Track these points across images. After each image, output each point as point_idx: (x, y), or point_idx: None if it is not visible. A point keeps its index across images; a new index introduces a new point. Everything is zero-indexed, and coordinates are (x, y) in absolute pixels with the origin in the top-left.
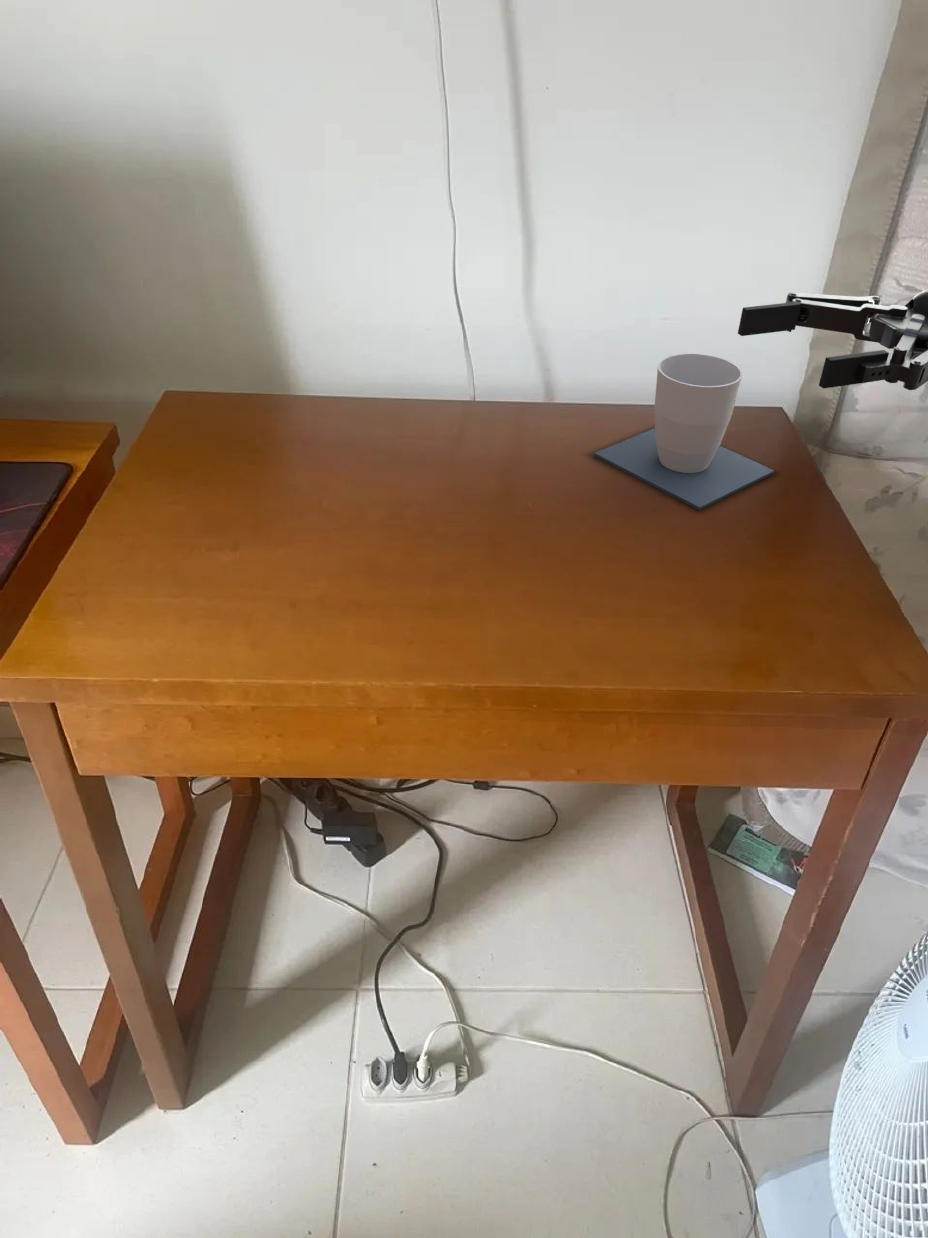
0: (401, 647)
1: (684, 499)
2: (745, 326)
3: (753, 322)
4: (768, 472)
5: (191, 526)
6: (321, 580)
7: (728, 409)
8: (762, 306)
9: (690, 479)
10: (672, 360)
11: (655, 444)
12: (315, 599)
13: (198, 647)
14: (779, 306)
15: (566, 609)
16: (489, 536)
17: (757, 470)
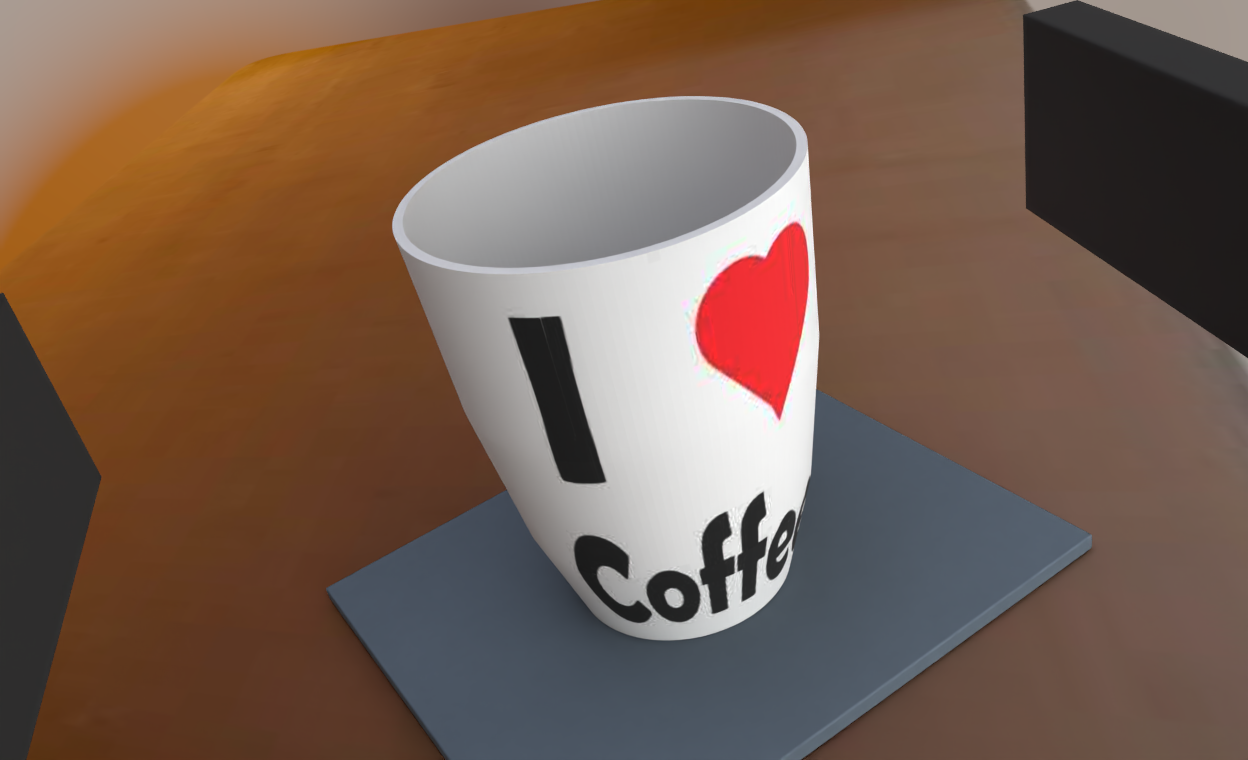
0: (98, 235)
1: (392, 552)
2: (1033, 147)
3: (1073, 145)
4: None
5: (511, 51)
6: (315, 152)
7: (467, 386)
8: (1162, 46)
9: (530, 575)
10: (767, 132)
11: (836, 488)
12: (268, 159)
13: (217, 121)
14: (1233, 101)
15: (54, 371)
16: (368, 261)
17: None
